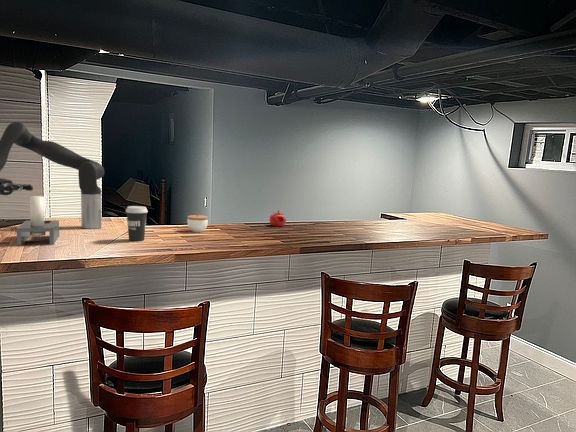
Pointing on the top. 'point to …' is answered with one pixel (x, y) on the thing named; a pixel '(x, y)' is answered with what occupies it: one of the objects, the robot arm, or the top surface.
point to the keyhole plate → (49, 226)
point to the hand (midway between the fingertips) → (22, 188)
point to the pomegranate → (277, 219)
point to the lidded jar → (197, 222)
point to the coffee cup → (136, 222)
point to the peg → (37, 213)
